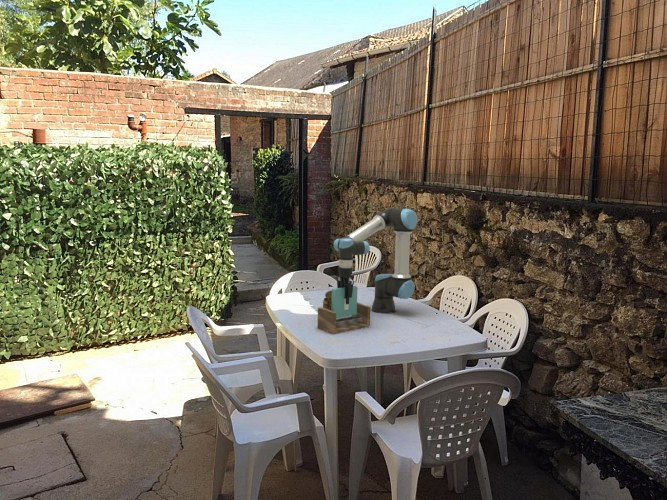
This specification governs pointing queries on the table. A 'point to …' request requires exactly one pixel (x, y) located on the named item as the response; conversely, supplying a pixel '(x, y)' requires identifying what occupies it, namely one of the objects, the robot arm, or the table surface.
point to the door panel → (338, 302)
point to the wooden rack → (343, 320)
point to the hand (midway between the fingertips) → (344, 309)
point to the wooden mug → (327, 300)
